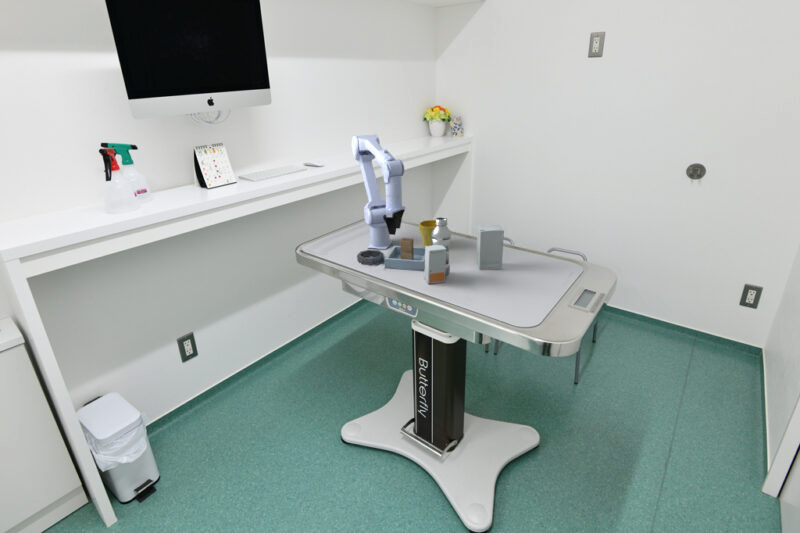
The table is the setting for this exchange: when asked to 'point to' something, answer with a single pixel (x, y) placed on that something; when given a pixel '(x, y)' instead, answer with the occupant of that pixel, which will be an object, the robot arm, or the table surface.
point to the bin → (396, 262)
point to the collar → (376, 255)
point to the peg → (407, 248)
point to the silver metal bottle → (442, 238)
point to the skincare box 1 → (435, 263)
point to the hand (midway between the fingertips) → (394, 231)
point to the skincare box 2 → (489, 247)
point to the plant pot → (427, 231)
